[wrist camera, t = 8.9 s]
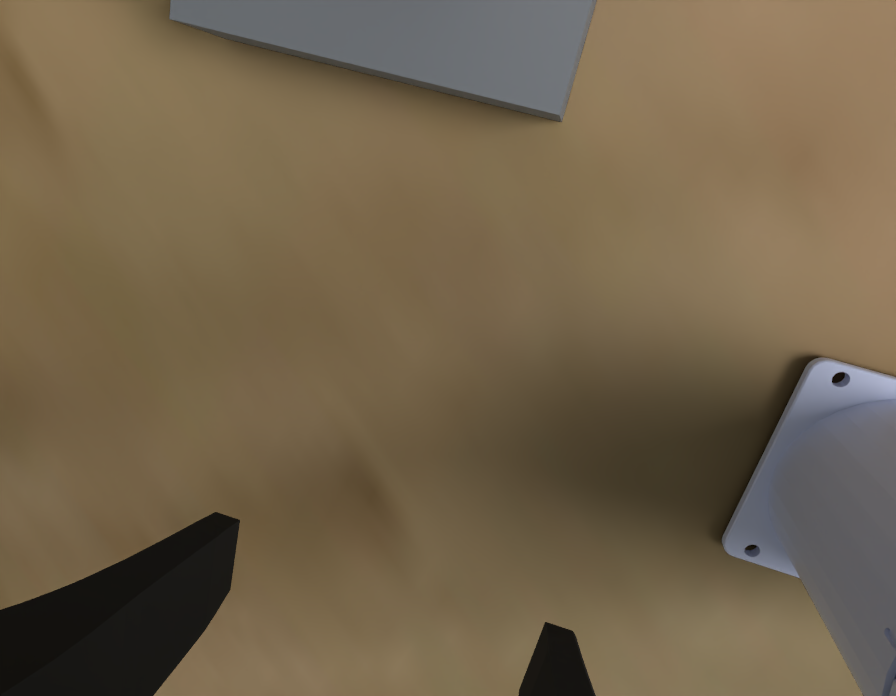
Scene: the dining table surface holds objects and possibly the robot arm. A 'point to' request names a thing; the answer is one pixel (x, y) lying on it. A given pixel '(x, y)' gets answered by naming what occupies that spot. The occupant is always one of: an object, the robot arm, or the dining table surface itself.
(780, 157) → the dining table surface
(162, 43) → the dining table surface
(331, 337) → the dining table surface
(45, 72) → the dining table surface
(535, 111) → the slate block
